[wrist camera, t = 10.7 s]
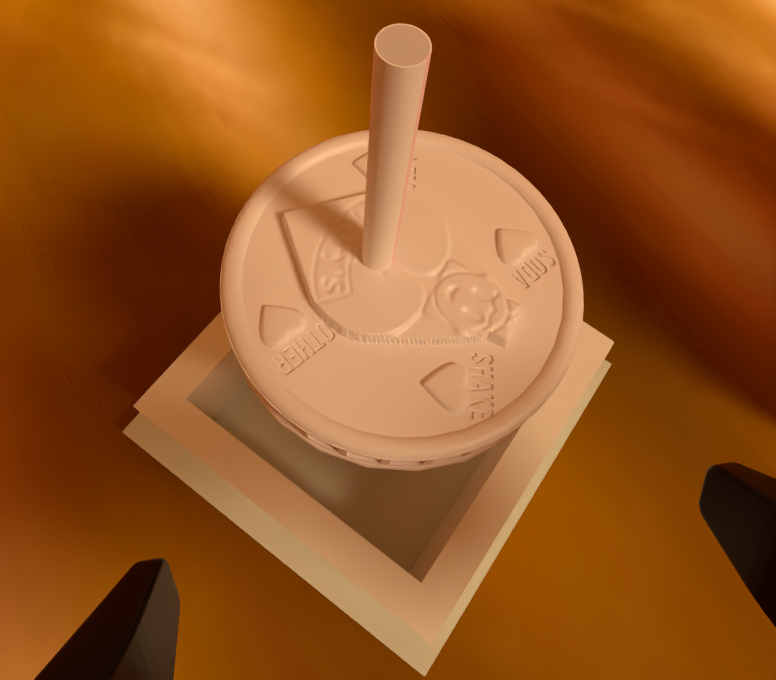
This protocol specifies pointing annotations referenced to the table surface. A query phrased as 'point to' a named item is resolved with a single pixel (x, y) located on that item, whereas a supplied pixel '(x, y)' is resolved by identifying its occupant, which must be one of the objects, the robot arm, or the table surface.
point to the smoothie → (400, 286)
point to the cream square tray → (357, 492)
